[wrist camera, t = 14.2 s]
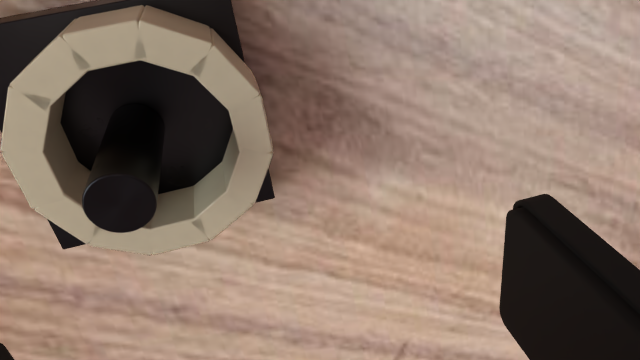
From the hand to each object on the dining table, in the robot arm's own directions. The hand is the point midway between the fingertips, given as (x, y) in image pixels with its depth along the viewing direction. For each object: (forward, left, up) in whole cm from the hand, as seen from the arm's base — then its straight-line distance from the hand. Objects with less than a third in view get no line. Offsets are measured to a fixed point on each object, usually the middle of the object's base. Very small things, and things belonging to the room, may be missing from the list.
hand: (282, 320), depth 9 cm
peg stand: (+4, 0, -13) cm, 13 cm away
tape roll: (+3, 0, -12) cm, 12 cm away
